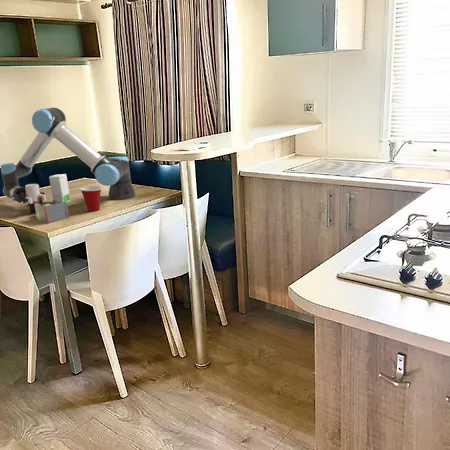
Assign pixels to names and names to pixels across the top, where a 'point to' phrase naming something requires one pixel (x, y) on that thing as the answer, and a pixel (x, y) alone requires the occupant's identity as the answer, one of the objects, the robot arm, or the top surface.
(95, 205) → the plastic cup
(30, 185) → the beverage can
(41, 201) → the plunger
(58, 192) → the skincare box
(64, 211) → the grey desk organizer
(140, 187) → the top surface
